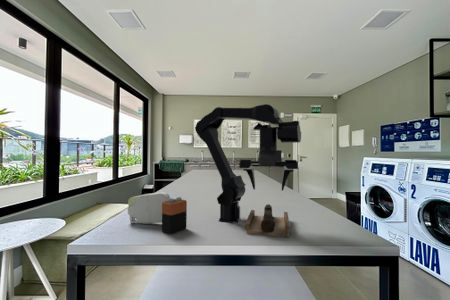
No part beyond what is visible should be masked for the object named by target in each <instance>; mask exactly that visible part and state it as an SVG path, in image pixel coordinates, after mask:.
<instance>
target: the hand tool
mask: <svg viewBox="0 0 450 300" xmlns="http://www.w3.org/2000/svg"><path fill="white" fill-rule="evenodd" d="M263 216H264V217H263V220H262V223H261V230H262V231H263V232H265V233H270V232H273V231H274V227H275V222H274V221H273V220H274V217H275V216H273V207H272V205H271V204H265V206H264V212H263Z"/></svg>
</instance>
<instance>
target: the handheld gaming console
mask: <svg viewBox="0 0 450 300" xmlns="http://www.w3.org/2000/svg"><path fill="white" fill-rule="evenodd" d="M170 198H171V197H170V195H169V193H167V192H166V191H162V192H152V193H144V194H142V195H136V196H131V197H129V198H128V201H127V203H128V207H127V213H128V215H129V221H130V222H129V223H130V224H131V223H135V224H144V225H145V224H146V225H147V224H148V225H149V224H158V223H159V224H162V202H165V201H167V199H170Z"/></svg>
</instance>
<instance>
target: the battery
mask: <svg viewBox="0 0 450 300" xmlns="http://www.w3.org/2000/svg"><path fill="white" fill-rule="evenodd" d="M187 205H188V203H187V199H182V197H180V196H179V197H176V198H171V197H170V199H167V201H165V202H162V222H161V232H163V233H166V234H168V235H173V234H175V233H177V232H180V231H183V230H186V229H187V222H188V221H187V218H188V217H187V211H188V210H187Z"/></svg>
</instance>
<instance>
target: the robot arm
mask: <svg viewBox="0 0 450 300" xmlns="http://www.w3.org/2000/svg"><path fill="white" fill-rule="evenodd" d="M279 115H280V112H279V110H277V108H276V107H274V106H272V105H270V104H267V103H266V104H258V105H254V106H253V107H220V106H218V107H215V108H214V109H213V110H212V111H211V112H209V113H208V114H206V115H204V116H203V117H202V118H201V119H200V120H198V121H197V122H196V124H195V126H194V131H195V133H196V135H198V137H199V138H200V139H201V141H203V143H205V144H206V147H207V149H208V151H209V153H210V156H211V157H212V160H213V162H214V164H215V167H216V169H217V170H218V173H219V175H220V178H221V190H222V192H221V193H220V194H219V195H218V196H217V198H216V200H217V204H218V205H219V207H220V208H219V209H220V210H219V212H220V215H219V217H220V218H219V219H218V222H228V223H238V221H239V220H240V218H241V206H240V201H241V199H242V197H243V196H245V193H246V187H245V186H246V183H245V182H244V181H243V177H242V175H236V174H235V173H234V171H233V169H232V167H231V165H230V162H229V160H228V158H227V156H226V154H225V152H224V150H223V148H222V146H221V143H220V141H219V131H218V129H220V127H221V126H222V124H223V122H224V121H225V120H226V119H227V120H231V119H232V120H252V121H256V122H258V123H257V124H256V125H255V126H254V127H253V130H255V131H259V153H258V161H257V160H255V161H254V160H253V159H251V158H250V159H249V158H248V159H245V158H244V159H243V158H242V159H240V160H239V165H238V167H239V169H242V171H246V173H247V175H248V178H249V180H250V183H251V186H252V189H253V191H254V190H256V181H255V180H256V179H255V178H256V177H255V169H254V167H264V168H265V167H271V168H272V167H273V168H274V167H275V168H276V167H277V168H278V167H279V168H283V172H282V180H281V181H282V182H281V192H282V191H284V188H285V186H286V183H287V180H288V177H289V175H290V174H291V173H292V172H293V173H294V170H298V169H299V162H298V160H297V159H284V161H282V158H283V157H282V150H278V141H280V143H282V144H284V143H285V144H286V143H287V144H288V143H290V144H293V143H295V144H296V143H301V141H302V131H301V126H300V120H299V121H298V120H293V121H285V122H284V121H283V120H282V119H281V118H280V116H279ZM262 123H265V124H262ZM271 125H274V126H271Z"/></svg>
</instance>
